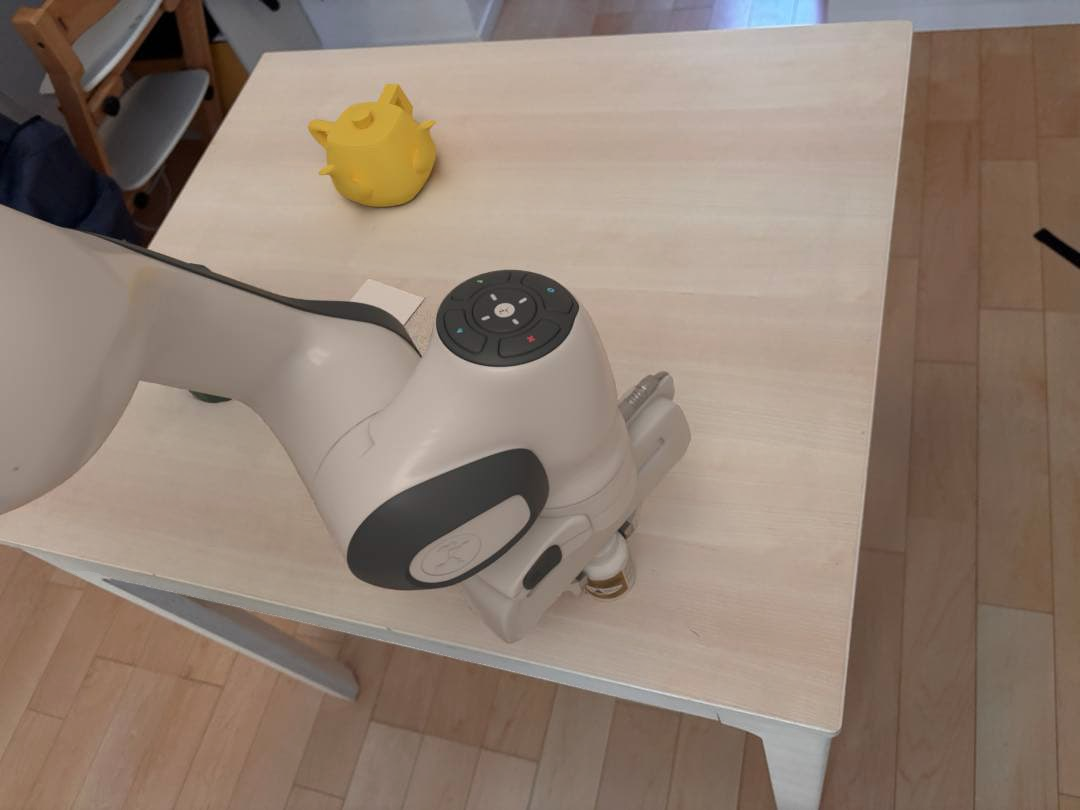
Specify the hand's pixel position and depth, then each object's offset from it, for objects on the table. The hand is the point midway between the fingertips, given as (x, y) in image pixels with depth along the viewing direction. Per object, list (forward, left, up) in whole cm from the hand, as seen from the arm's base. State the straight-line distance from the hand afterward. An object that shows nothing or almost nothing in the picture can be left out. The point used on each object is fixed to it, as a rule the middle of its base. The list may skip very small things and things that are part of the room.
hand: (600, 556), depth 67 cm
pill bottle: (0, 0, -4) cm, 4 cm away
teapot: (+22, +53, -4) cm, 58 cm away
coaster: (+7, +39, -4) cm, 40 cm away
